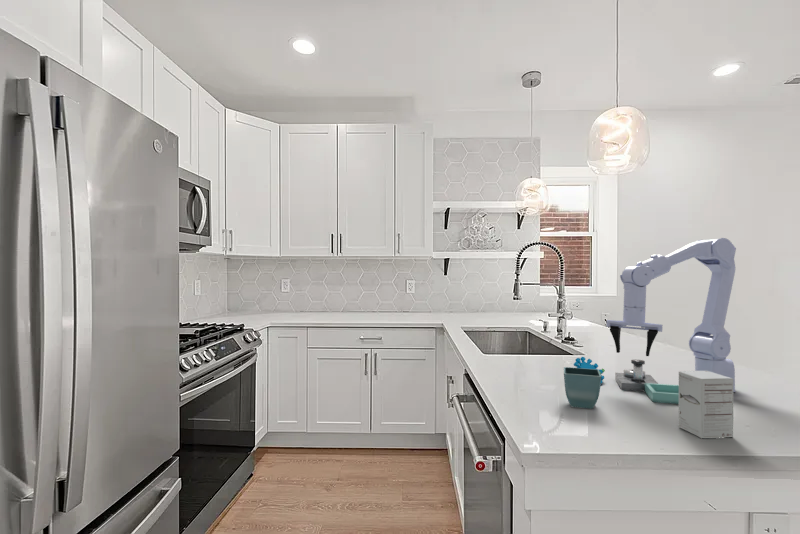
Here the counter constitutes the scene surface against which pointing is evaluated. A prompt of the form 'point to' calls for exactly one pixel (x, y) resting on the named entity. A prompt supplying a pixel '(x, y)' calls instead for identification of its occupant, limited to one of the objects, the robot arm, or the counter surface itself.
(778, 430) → the counter surface
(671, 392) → the tray
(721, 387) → the supplement box
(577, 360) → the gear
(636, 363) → the pin
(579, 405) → the flower pot
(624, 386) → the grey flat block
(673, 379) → the counter surface
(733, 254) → the robot arm
